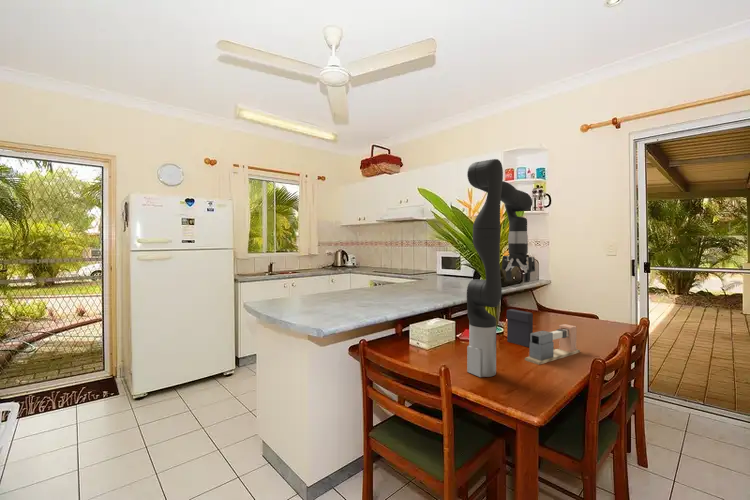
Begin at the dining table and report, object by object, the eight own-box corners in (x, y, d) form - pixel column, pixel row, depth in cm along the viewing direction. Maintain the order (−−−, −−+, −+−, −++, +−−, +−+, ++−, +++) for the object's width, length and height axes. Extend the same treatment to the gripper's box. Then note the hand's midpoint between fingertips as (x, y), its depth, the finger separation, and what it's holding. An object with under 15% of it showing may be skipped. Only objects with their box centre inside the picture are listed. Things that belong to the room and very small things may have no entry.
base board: (539, 364, 133) (539, 362, 133) (525, 360, 138) (525, 357, 138) (580, 352, 147) (580, 349, 147) (566, 348, 153) (566, 346, 153)
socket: (570, 352, 145) (570, 327, 144) (559, 348, 149) (559, 325, 149) (576, 350, 147) (576, 326, 147) (564, 347, 151) (564, 324, 151)
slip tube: (548, 342, 138) (548, 334, 138) (541, 340, 141) (541, 333, 141) (572, 335, 147) (572, 328, 147) (565, 334, 150) (565, 327, 149)
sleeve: (541, 360, 134) (541, 335, 134) (529, 357, 139) (529, 333, 138) (553, 357, 139) (553, 333, 138) (541, 353, 143) (541, 330, 143)
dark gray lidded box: (533, 346, 156) (533, 312, 156) (528, 347, 154) (528, 313, 154) (511, 340, 166) (512, 308, 165) (506, 341, 163) (506, 309, 163)
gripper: (498, 242, 151) (497, 280, 151) (527, 242, 139) (527, 283, 139) (509, 242, 155) (509, 279, 155) (539, 242, 143) (538, 282, 143)
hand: (517, 281), depth 147 cm, fingers open, 8 cm apart
